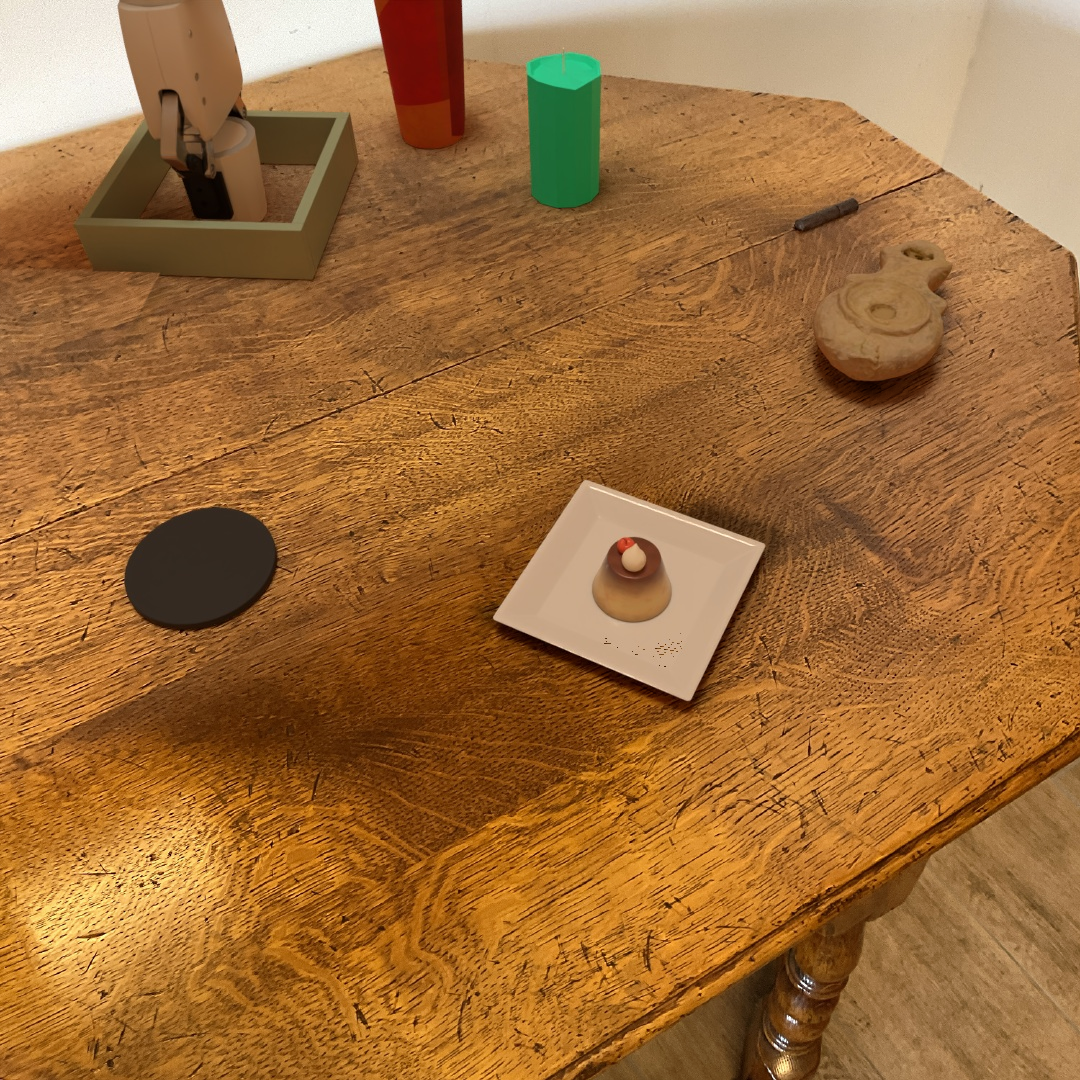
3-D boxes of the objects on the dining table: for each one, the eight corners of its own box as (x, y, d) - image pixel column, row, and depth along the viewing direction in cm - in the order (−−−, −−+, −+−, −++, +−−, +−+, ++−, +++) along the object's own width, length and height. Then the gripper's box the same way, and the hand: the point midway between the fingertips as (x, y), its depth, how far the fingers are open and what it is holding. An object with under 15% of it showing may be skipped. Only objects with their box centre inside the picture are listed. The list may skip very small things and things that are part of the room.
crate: (94, 273, 80) (72, 224, 77) (166, 155, 92) (150, 108, 88) (312, 280, 79) (300, 230, 76) (358, 159, 90) (350, 111, 87)
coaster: (105, 625, 58) (101, 619, 58) (156, 509, 64) (152, 503, 63) (255, 634, 57) (252, 628, 57) (293, 516, 63) (291, 510, 63)
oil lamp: (928, 280, 77) (947, 222, 73) (973, 407, 68) (997, 349, 64) (789, 279, 77) (800, 223, 74) (814, 406, 68) (829, 349, 64)
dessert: (584, 490, 64) (585, 437, 60) (763, 555, 60) (776, 502, 56) (492, 629, 57) (487, 579, 54) (687, 712, 54) (696, 664, 50)
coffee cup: (443, 101, 97) (425, -70, 85) (495, 133, 93) (484, -42, 81) (370, 131, 94) (342, -43, 82) (421, 166, 89) (398, -12, 78)
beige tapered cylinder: (178, 214, 86) (151, 137, 80) (245, 182, 88) (224, 105, 83) (222, 246, 82) (197, 168, 77) (290, 212, 85) (271, 134, 80)
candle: (522, 204, 85) (516, 62, 76) (539, 167, 89) (535, 28, 79) (591, 211, 84) (593, 69, 75) (605, 173, 88) (609, 33, 78)
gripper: (149, -85, 76) (215, 137, 90) (60, 16, 65) (150, 251, 79) (245, -84, 75) (297, 139, 89) (172, 17, 64) (243, 254, 78)
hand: (227, 190), depth 84 cm, fingers closed on beige tapered cylinder, 6 cm apart
